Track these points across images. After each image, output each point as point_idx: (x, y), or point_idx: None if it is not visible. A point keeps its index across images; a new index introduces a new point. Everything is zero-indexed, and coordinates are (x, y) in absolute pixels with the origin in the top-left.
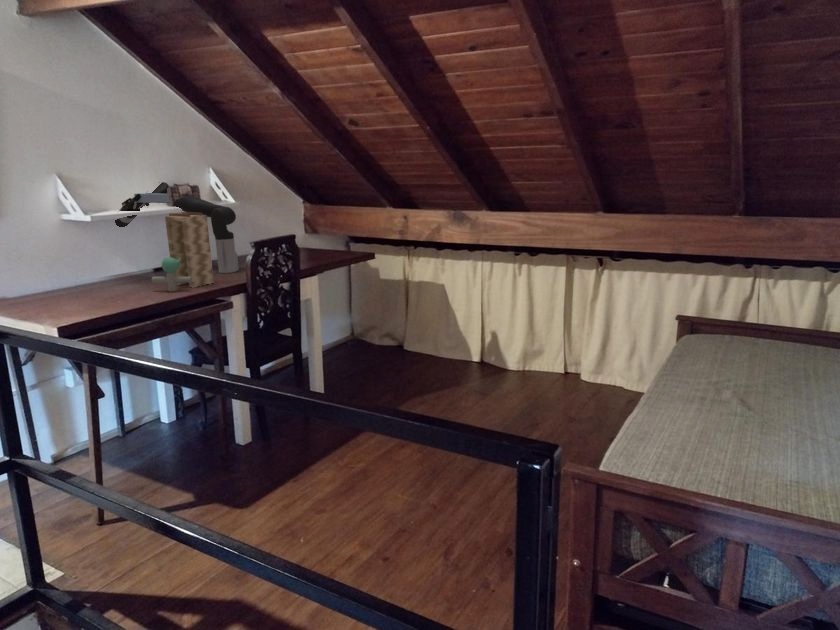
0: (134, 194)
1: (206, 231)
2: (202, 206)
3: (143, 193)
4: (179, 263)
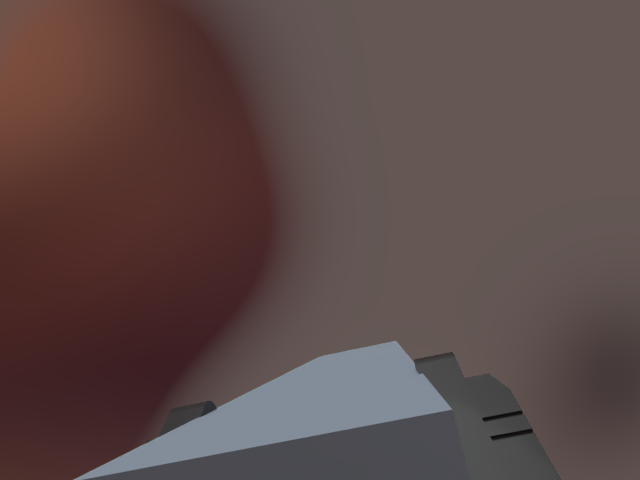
0: (456, 436)
1: None
2: None
3: (222, 420)
4: None
